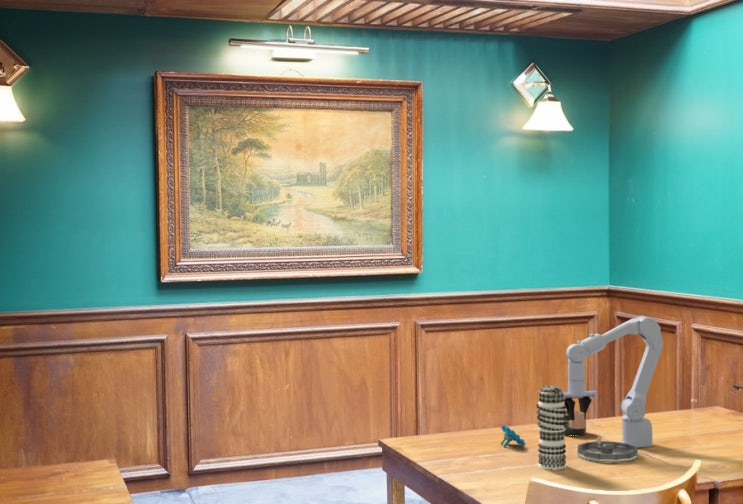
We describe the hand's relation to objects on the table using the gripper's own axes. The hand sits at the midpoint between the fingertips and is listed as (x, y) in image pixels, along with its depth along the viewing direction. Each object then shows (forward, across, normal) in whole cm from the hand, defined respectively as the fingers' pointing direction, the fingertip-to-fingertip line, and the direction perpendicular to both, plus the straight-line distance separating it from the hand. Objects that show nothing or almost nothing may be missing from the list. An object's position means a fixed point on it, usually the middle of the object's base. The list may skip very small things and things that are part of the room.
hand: (577, 419), depth 320 cm
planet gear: (+3, 0, 0) cm, 3 cm away
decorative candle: (+9, +21, +22) cm, 32 cm away
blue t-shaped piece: (+9, +20, -8) cm, 24 cm away
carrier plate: (+9, -2, +16) cm, 19 cm away
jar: (+9, -8, -18) cm, 22 cm away
